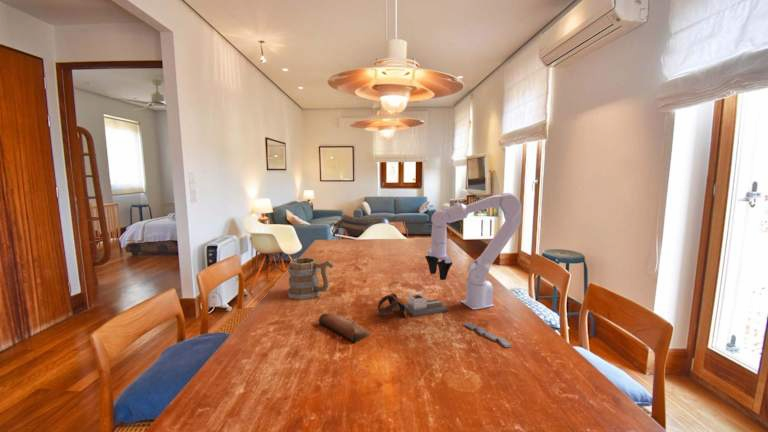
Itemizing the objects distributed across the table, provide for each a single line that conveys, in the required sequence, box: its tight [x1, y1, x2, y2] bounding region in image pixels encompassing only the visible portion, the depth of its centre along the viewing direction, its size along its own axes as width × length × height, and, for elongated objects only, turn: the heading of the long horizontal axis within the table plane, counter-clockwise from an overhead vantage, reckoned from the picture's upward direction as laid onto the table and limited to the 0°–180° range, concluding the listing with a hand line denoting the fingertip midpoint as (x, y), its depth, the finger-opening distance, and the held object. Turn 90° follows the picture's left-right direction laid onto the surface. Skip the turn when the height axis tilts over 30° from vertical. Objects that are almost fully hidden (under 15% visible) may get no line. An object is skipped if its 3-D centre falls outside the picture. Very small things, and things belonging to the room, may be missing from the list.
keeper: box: [403, 299, 449, 317], centre depth 120 cm, size 14×9×4 cm, turn 111°
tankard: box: [286, 257, 335, 301], centre depth 133 cm, size 20×13×15 cm, turn 68°
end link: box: [407, 293, 428, 311], centre depth 119 cm, size 5×5×4 cm
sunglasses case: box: [318, 313, 373, 344], centre depth 104 cm, size 18×7×7 cm
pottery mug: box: [376, 293, 408, 318], centre depth 116 cm, size 12×10×8 cm
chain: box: [464, 321, 512, 348], centre depth 101 cm, size 3×17×1 cm, turn 34°
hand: (437, 276), depth 127 cm, fingers open, 7 cm apart
